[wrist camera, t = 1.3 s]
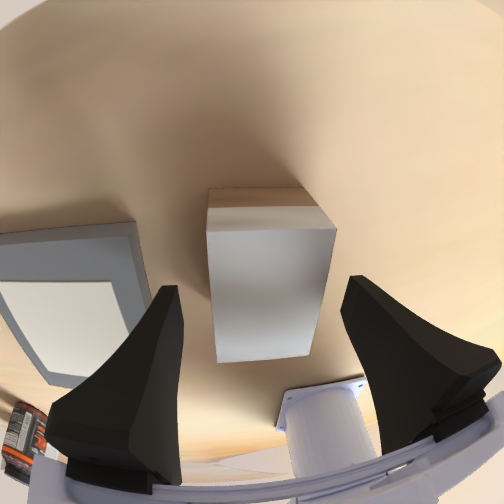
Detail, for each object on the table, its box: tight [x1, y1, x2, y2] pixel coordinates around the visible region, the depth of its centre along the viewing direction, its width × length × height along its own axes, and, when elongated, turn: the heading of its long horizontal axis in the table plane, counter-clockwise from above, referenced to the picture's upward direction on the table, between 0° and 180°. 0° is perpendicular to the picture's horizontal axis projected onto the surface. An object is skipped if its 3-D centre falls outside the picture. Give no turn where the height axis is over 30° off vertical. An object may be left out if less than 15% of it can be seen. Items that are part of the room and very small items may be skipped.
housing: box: [206, 187, 337, 363], centre depth 13 cm, size 7×4×4 cm, turn 179°
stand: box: [0, 222, 152, 389], centre depth 16 cm, size 14×12×2 cm
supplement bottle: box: [1, 402, 48, 486], centre depth 20 cm, size 6×6×11 cm
